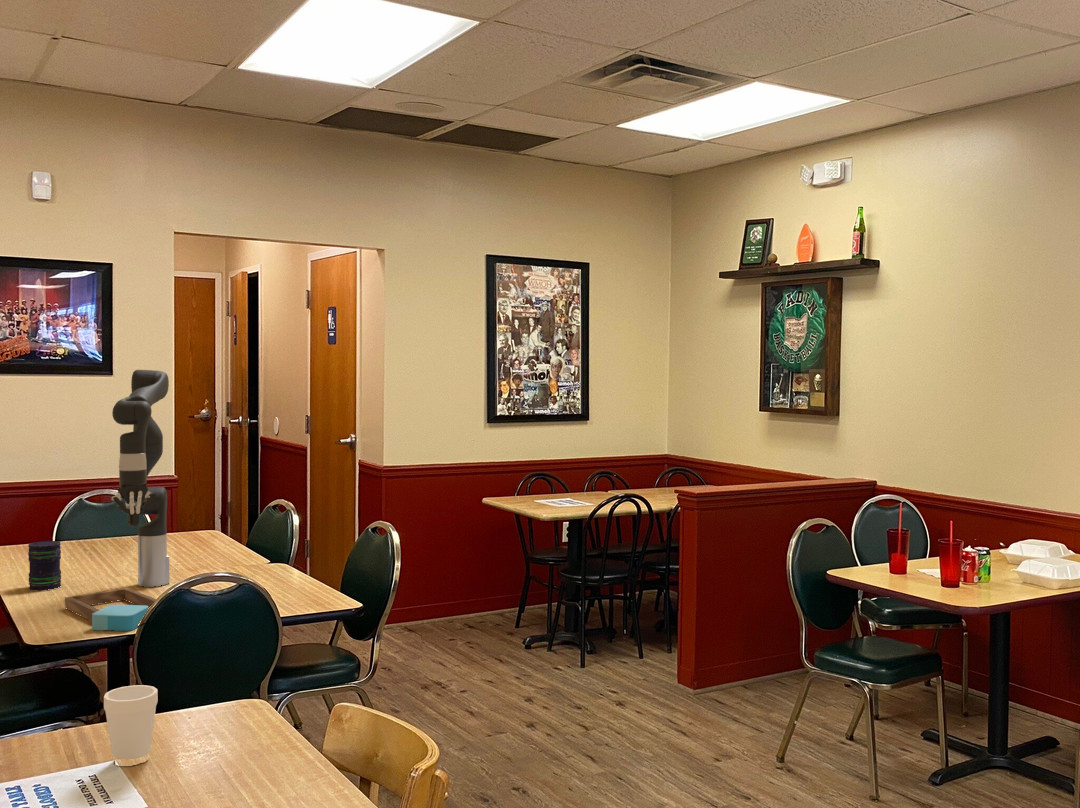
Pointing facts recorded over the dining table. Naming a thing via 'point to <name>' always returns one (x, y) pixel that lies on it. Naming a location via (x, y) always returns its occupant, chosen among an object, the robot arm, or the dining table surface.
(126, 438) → the robot arm
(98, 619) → the data package
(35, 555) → the storage jar
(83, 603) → the walnut frame
